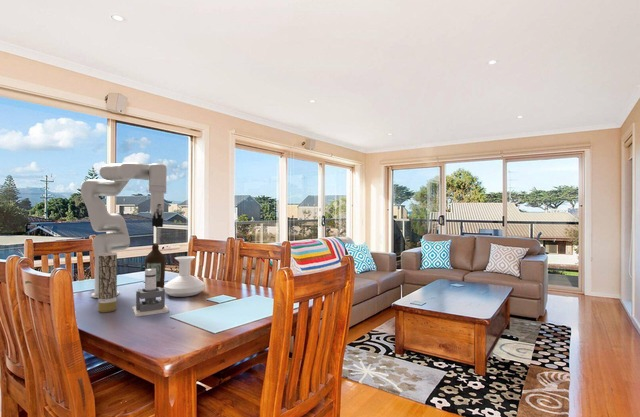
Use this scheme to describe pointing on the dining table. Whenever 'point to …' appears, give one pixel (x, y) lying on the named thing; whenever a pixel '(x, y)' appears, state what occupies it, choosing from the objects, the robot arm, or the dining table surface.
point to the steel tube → (150, 284)
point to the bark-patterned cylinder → (107, 282)
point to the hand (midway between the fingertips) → (157, 226)
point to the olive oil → (156, 264)
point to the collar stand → (151, 308)
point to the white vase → (184, 280)
